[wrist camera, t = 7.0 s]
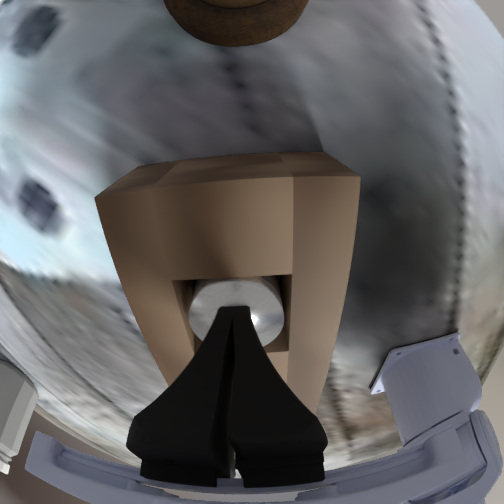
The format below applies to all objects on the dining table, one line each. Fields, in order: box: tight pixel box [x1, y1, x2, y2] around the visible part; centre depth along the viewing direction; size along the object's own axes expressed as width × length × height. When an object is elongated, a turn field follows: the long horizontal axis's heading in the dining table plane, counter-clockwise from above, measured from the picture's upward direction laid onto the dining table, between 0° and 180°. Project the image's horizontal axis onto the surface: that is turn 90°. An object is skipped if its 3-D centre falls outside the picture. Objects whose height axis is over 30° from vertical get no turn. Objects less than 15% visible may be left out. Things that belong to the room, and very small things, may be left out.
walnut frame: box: [94, 152, 361, 415], centre depth 17 cm, size 10×23×5 cm, turn 3°
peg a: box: [189, 275, 284, 346], centre depth 14 cm, size 4×4×5 cm
